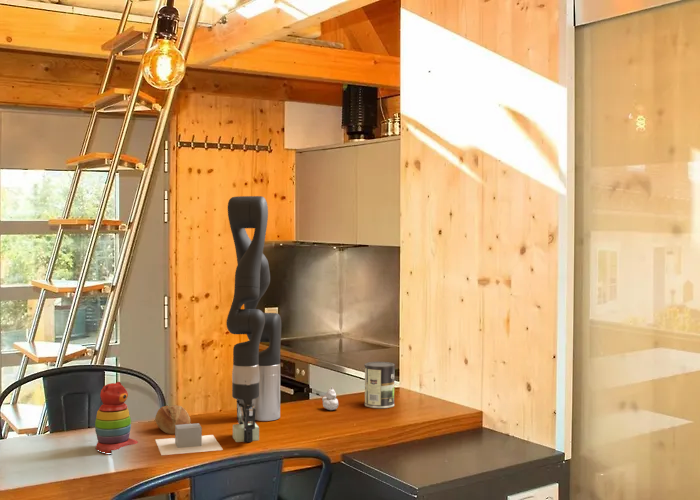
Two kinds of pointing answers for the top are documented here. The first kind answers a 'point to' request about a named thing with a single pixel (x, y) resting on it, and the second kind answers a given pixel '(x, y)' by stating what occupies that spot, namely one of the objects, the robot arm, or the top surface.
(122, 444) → the stacking bear
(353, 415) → the top surface
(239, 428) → the sage brick
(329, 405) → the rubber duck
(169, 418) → the bread roll
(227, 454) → the top surface
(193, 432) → the slate brick
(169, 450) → the baseplate
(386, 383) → the coffee can
